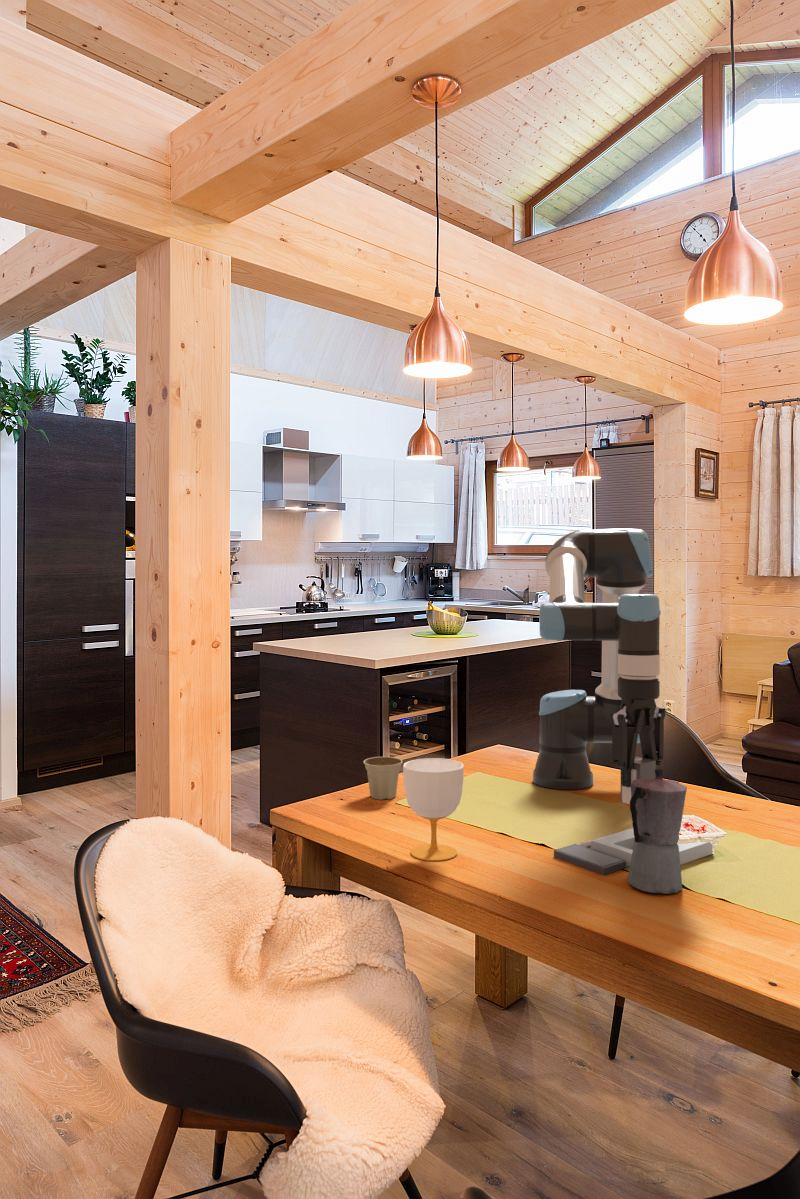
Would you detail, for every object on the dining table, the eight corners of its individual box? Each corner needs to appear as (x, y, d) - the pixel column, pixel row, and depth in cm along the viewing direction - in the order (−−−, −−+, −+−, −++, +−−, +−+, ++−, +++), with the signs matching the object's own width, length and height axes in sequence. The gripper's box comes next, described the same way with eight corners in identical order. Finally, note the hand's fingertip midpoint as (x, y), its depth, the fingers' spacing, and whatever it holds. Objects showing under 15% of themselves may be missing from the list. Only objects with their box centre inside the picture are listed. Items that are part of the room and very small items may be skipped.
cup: (442, 868, 148) (441, 775, 148) (391, 855, 156) (390, 766, 155) (476, 850, 158) (475, 763, 157) (426, 839, 165) (426, 755, 164)
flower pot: (399, 802, 192) (399, 766, 191) (360, 801, 193) (359, 764, 193) (405, 792, 201) (405, 757, 201) (367, 790, 202) (367, 756, 202)
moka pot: (700, 881, 142) (701, 766, 141) (662, 908, 130) (662, 784, 129) (648, 868, 148) (648, 758, 147) (607, 893, 136) (607, 774, 136)
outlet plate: (650, 835, 167) (650, 821, 166) (712, 853, 155) (712, 839, 155) (591, 853, 156) (591, 839, 156) (652, 874, 145) (652, 859, 145)
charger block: (636, 798, 156) (636, 755, 156) (655, 803, 152) (655, 760, 152) (620, 802, 153) (620, 759, 153) (640, 807, 150) (640, 763, 150)
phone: (575, 849, 158) (575, 843, 158) (625, 867, 148) (625, 860, 148) (553, 856, 154) (553, 849, 154) (603, 875, 145) (603, 867, 145)
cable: (612, 837, 165) (612, 832, 165) (616, 839, 164) (616, 834, 164) (575, 848, 159) (575, 843, 159) (579, 850, 158) (579, 845, 158)
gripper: (651, 671, 160) (651, 789, 161) (591, 678, 150) (591, 804, 151) (684, 675, 154) (684, 797, 155) (623, 682, 144) (623, 814, 145)
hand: (638, 800), depth 153 cm, fingers closed on charger block, 4 cm apart
